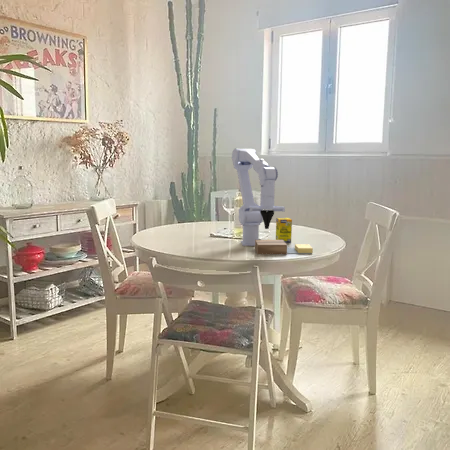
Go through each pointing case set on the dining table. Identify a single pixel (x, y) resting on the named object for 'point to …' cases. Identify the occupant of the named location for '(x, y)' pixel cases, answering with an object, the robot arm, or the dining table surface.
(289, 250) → the mat
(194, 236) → the dining table surface
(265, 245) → the brown wooden block
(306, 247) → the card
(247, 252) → the dining table surface
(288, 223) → the supplement box
